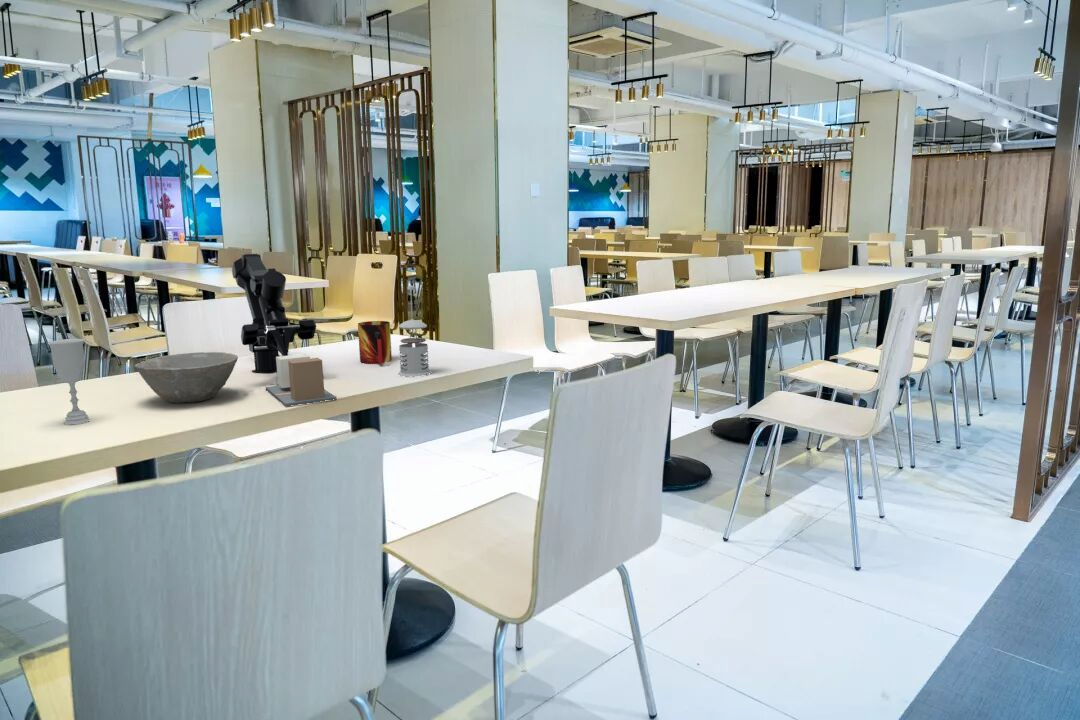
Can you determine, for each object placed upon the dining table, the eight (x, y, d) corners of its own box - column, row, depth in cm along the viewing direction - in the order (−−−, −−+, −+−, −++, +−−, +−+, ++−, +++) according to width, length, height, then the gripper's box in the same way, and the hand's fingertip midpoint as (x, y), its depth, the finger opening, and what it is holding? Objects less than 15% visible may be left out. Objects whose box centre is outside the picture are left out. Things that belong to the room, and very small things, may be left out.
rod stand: (265, 390, 193) (262, 352, 191) (312, 384, 199) (309, 347, 197) (285, 407, 174) (282, 365, 172) (336, 400, 180) (333, 359, 179)
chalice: (70, 418, 168) (59, 339, 164) (101, 416, 168) (91, 338, 165) (51, 426, 160) (40, 344, 157) (84, 425, 161) (73, 343, 158)
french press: (396, 377, 205) (391, 287, 201) (397, 369, 217) (393, 283, 212) (432, 376, 207) (428, 286, 202) (431, 368, 218) (428, 282, 213)
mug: (380, 367, 221) (378, 327, 219) (353, 361, 231) (351, 323, 228) (406, 362, 228) (404, 323, 226) (379, 357, 238) (377, 320, 235)
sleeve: (278, 384, 190) (275, 356, 189) (306, 380, 194) (304, 353, 193) (282, 387, 186) (280, 359, 185) (311, 384, 190) (309, 356, 188)
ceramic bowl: (143, 395, 189) (138, 356, 188) (240, 386, 198) (236, 349, 196) (134, 415, 169) (129, 372, 168) (242, 403, 178) (239, 363, 176)
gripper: (304, 326, 213) (317, 370, 206) (235, 332, 204) (246, 378, 196) (309, 301, 205) (323, 346, 198) (237, 306, 196) (249, 353, 188)
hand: (286, 356), depth 195 cm, fingers closed
